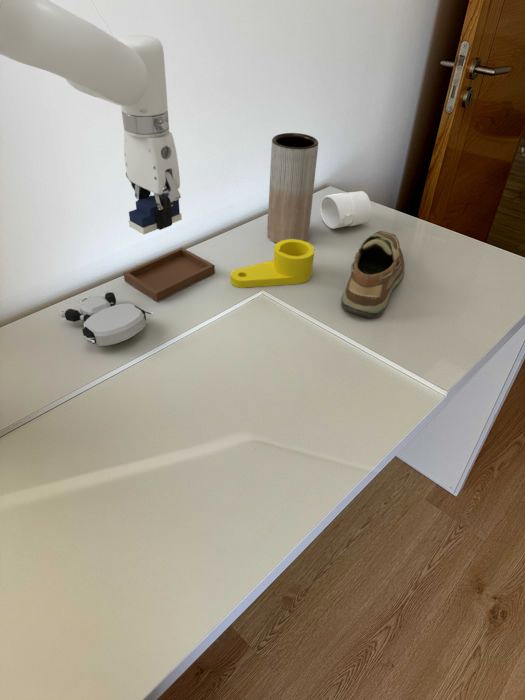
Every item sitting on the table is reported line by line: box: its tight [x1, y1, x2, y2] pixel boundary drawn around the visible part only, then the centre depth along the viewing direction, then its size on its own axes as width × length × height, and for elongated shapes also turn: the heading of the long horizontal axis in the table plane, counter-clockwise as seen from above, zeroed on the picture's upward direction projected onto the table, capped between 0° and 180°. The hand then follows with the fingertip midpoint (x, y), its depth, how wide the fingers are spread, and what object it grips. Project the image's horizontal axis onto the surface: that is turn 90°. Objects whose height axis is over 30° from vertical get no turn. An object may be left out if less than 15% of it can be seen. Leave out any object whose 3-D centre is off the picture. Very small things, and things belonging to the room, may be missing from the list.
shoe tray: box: [123, 247, 216, 303], centre depth 110 cm, size 16×11×2 cm
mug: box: [320, 190, 372, 230], centre depth 132 cm, size 12×9×8 cm
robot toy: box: [58, 290, 155, 347], centre depth 96 cm, size 12×4×15 cm
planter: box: [266, 132, 319, 244], centre depth 120 cm, size 10×10×23 cm
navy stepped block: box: [128, 194, 183, 235], centre depth 98 cm, size 9×4×4 cm, turn 137°
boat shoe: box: [341, 230, 405, 319], centre depth 109 cm, size 11×29×11 cm, turn 162°
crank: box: [230, 239, 315, 289], centre depth 111 cm, size 18×8×6 cm, turn 110°
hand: (155, 221), depth 100 cm, fingers closed on navy stepped block, 4 cm apart
